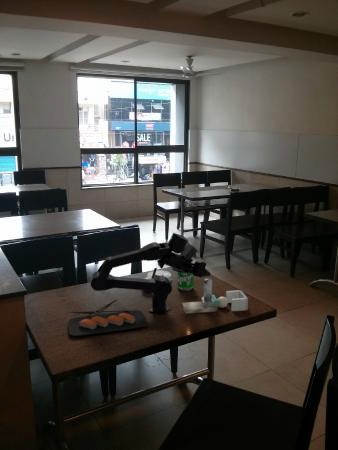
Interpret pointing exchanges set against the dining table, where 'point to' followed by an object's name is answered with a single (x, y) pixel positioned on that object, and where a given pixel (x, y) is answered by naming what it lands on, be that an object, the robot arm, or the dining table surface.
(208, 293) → the striker
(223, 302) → the ball
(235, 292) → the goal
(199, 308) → the beige flat block
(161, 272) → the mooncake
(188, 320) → the dining table surface
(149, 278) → the cocoa
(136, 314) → the sushi plate
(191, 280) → the soda can
